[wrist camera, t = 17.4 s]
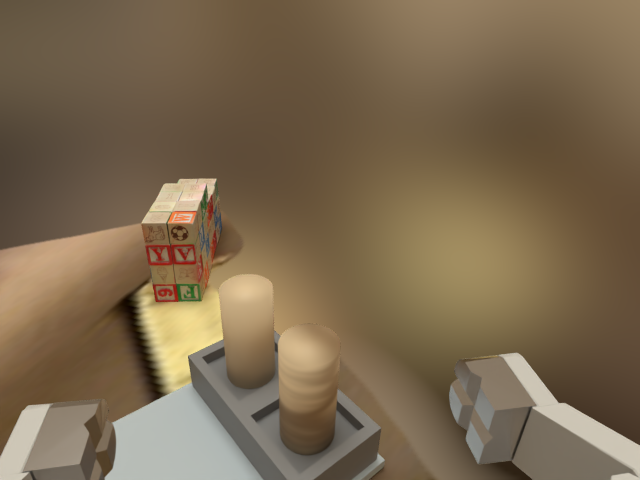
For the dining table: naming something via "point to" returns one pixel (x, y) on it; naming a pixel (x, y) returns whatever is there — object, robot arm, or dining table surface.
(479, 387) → the robot arm
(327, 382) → the beech post
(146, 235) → the stack of blocks
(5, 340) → the dining table surface
